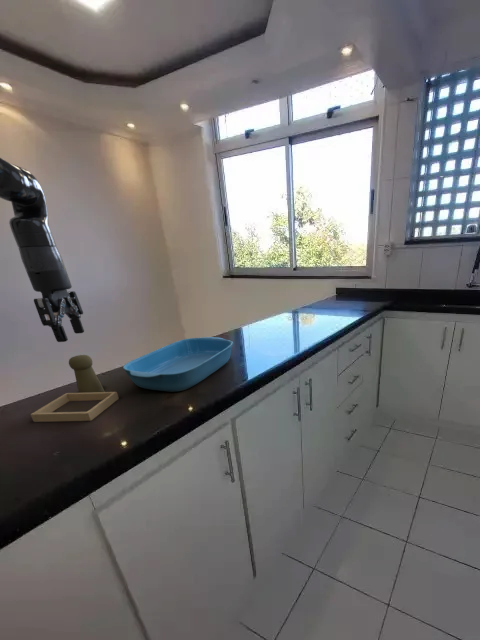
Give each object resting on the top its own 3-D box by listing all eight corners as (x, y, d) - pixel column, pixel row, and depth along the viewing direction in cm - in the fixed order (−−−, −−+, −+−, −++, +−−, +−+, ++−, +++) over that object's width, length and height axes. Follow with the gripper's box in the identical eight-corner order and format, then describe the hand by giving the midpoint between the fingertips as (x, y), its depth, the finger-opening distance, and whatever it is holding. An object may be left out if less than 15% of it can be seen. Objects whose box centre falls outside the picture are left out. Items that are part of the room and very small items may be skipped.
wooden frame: (35, 425, 71) (30, 414, 70) (69, 402, 82) (65, 392, 81) (92, 423, 71) (88, 413, 70) (119, 401, 81) (116, 391, 80)
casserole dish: (180, 402, 79) (174, 376, 76) (112, 394, 86) (104, 370, 82) (245, 357, 111) (242, 337, 107) (192, 353, 117) (188, 335, 114)
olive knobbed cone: (102, 387, 90) (89, 351, 85) (106, 393, 86) (93, 356, 81) (78, 393, 87) (63, 356, 82) (81, 400, 83) (66, 361, 78)
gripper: (46, 268, 78) (70, 331, 85) (7, 271, 65) (39, 346, 73) (78, 266, 79) (99, 329, 86) (45, 269, 66) (73, 343, 73)
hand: (71, 337), depth 79 cm, fingers open, 8 cm apart
